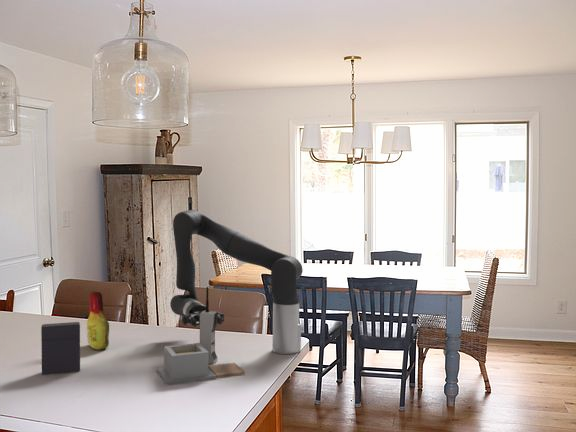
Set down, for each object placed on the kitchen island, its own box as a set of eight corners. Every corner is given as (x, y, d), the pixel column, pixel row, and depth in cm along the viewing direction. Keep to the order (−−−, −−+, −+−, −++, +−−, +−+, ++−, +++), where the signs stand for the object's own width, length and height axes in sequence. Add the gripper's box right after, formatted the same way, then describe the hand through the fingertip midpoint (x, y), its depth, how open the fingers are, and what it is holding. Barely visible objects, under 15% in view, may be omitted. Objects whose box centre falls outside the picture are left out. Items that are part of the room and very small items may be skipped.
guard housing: (203, 365, 186) (203, 341, 186) (216, 379, 174) (216, 352, 173) (156, 371, 180) (157, 345, 180) (166, 385, 168) (166, 358, 167)
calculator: (79, 367, 182) (79, 321, 182) (80, 372, 178) (79, 324, 178) (42, 371, 178) (41, 323, 178) (41, 375, 174) (41, 326, 174)
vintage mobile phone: (213, 364, 188) (214, 288, 187) (199, 363, 189) (199, 287, 188) (217, 361, 192) (218, 286, 190) (203, 360, 193) (203, 285, 191)
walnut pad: (234, 364, 188) (234, 362, 188) (244, 374, 178) (244, 371, 178) (207, 368, 184) (207, 365, 184) (216, 377, 175) (216, 375, 175)
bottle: (82, 345, 208) (82, 290, 207) (99, 342, 212) (99, 288, 211) (94, 352, 199) (94, 295, 198) (112, 349, 203) (112, 293, 202)
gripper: (175, 303, 202) (186, 312, 187) (215, 300, 208) (228, 309, 193) (175, 324, 203) (186, 335, 188) (214, 321, 208) (228, 331, 194)
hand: (208, 322), depth 191 cm, fingers open, 8 cm apart
